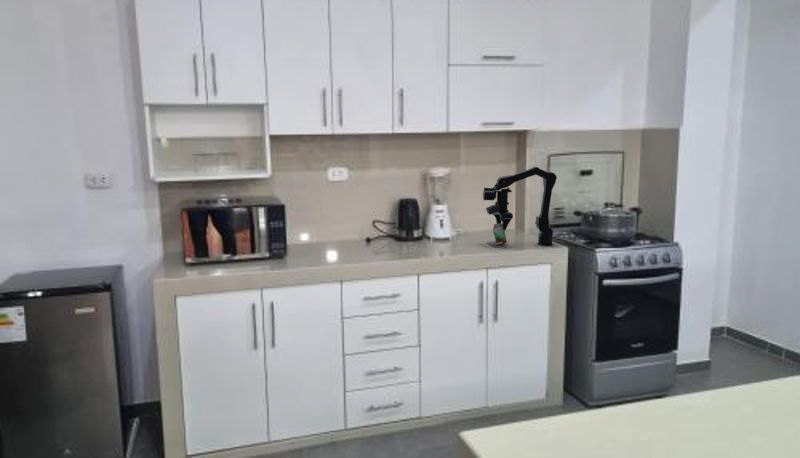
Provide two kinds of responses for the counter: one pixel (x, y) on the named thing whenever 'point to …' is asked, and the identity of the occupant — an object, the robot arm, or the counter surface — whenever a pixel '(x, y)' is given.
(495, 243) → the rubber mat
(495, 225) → the food container
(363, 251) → the counter surface
